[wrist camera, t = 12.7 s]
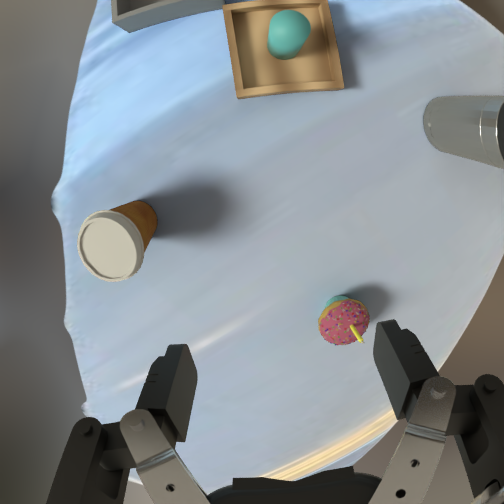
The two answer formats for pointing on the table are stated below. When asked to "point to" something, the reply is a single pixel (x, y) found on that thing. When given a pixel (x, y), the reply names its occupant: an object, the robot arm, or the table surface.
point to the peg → (287, 34)
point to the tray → (275, 70)
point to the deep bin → (157, 11)
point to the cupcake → (343, 321)
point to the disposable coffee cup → (116, 240)
